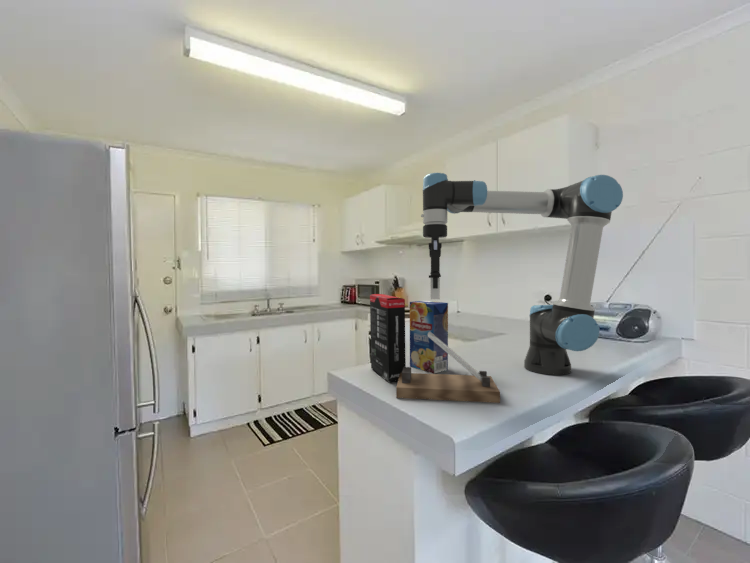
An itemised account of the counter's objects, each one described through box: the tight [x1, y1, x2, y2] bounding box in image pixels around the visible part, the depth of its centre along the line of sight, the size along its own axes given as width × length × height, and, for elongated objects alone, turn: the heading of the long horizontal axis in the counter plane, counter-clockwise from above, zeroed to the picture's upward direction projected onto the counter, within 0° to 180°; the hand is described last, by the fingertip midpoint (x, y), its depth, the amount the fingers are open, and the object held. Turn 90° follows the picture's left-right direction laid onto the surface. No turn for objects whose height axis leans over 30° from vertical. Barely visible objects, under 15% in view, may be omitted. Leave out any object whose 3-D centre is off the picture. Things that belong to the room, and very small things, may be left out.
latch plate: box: [395, 366, 501, 404], centre depth 104 cm, size 28×14×6 cm, turn 82°
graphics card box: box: [369, 293, 407, 383], centre depth 120 cm, size 17×7×27 cm, turn 21°
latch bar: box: [428, 331, 483, 382], centre depth 103 cm, size 21×4×1 cm
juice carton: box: [409, 300, 449, 374], centre depth 128 cm, size 12×8×24 cm, turn 38°
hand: (434, 298), depth 112 cm, fingers open, 6 cm apart
